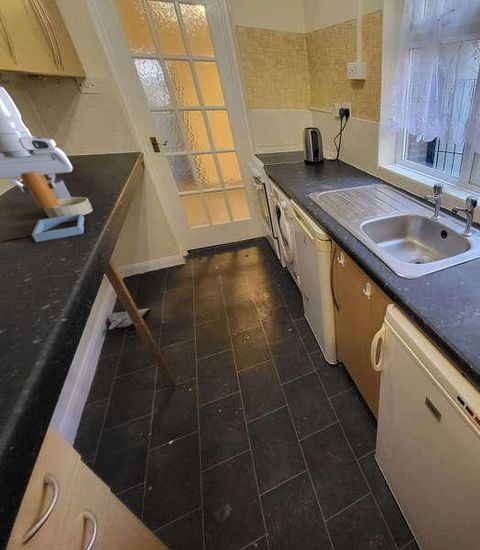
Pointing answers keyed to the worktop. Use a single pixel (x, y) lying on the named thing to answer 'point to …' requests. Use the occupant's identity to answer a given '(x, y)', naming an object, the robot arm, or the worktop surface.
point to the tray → (60, 233)
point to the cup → (60, 190)
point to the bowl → (69, 207)
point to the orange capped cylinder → (40, 190)
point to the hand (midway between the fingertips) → (40, 189)
